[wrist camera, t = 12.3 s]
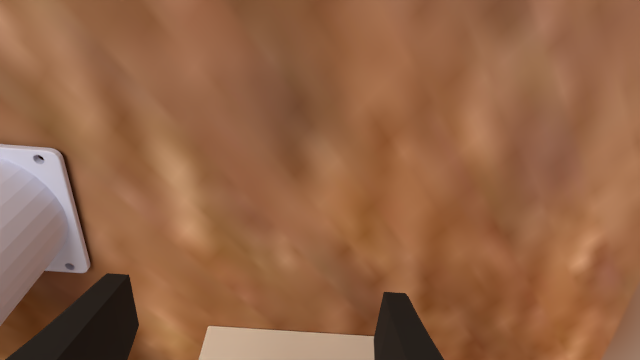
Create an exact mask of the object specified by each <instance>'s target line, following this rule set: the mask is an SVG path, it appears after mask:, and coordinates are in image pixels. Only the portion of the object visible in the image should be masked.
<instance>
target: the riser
mask: <svg viewBox="0 0 640 360" xmlns="http://www.w3.org/2000/svg"><path fill="white" fill-rule="evenodd" d="M199 360H375V359H374V336H360V335H345V334H329V333H313V332H297V331H282V330H266V329H250V328H234V327H219V326H208V329H207V332H206V336H205V339H204V343H203V346H202V349H201V353H200V356H199Z"/></svg>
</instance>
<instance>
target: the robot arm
mask: <svg viewBox="0 0 640 360" xmlns="http://www.w3.org/2000/svg"><path fill="white" fill-rule="evenodd" d="M38 155H40V156H42V157H43V158H44V160H42V159H40V158H39V157H38ZM71 264H72V265H71ZM89 267H90V261H89V257H88V253H87V249H86V245H85V241H84V237H83V233H82V229H81V225H80V221H79V217H78V214H77V210H76V206H75V202H74V198H73V194H72V190H71V186H70V182H69V178H68V174H67V171H66V167H65V163H64V159H63V156H62V154H61V153H60V152H59V151H57V150H56V149H53V148H44V147H31V146H18V145H4V144H0V326H1V324H2V323H3V322H4V321H5V319H6V318H7V317H8V316H9V314H10V313H11V312H12V311H13V309H14V308H15V307H16V306H17V304H18V303H19V302H20V301H21V299H22V298H23V297H24V296H25V294H26V293H27V292H28V291H29V289H30V288H31V287H32V286H33V284H34V283H35V282H36V281H37V279H38V278H39V277H40V276H41V274H42V273H43V272H44V271H56V272H71V273H85V272H87V270H88V269H89ZM138 326H139V323H138V318H137V313H136V308H135V303H134V298H133V293H132V287H131V282H130V277H129V275H123V274H109V273H107V274H106V275H105V276H103V277H102V278H101V279H100V280H99V281H98V282H96V283H95V284H94V285H93V286H92V287H91V288H90V289H89V290H87V291H86V292H85V293H84V294H83V295H82V296H81V297H80V298H78V299H77V300H76V301H75V302H74V303H73V304H72V305H71V306H69V307H68V308H67V309H66V310H65V311H64V312H63V313H61V314H60V315H59V316H58V317H57V318H56V319H54V320H53V321H52V322H51V323H50V324H49V325H47V326H46V327H45V328H44V329H43V330H42V331H40V332H39V333H38V334H37V335H36V336H34V337H33V338H32V339H31V340H29V341H28V342H27V343H26V344H24V345H23V346H22V347H21V348H19V349H18V350H17V351H16V352H14V353H13V354H12V355H10V356H9V357H8V358H7V359H5V360H127V359H128V356H129V353H130V350H131V347H132V345H133V342H134V338H135V335H136V332H137V329H138ZM374 359H375V360H444V359H443V357H442V355H441V354H440V352H439V351H438V349H437V348H436V346H435V344H434V343H433V341H432V339H431V338H430V336H429V334H428V333H427V331H426V329H425V327H424V326H423V324H422V322H421V320H420V318H419V317H418V315H417V313H416V311H415V309H414V307H413V305H412V303H411V301H410V299H409V297H408V296H407V295H406V294H405V293H392V292H384V294H383V299H382V303H381V308H380V313H379V317H378V322H377V326H376V331H375V335H374Z"/></svg>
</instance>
